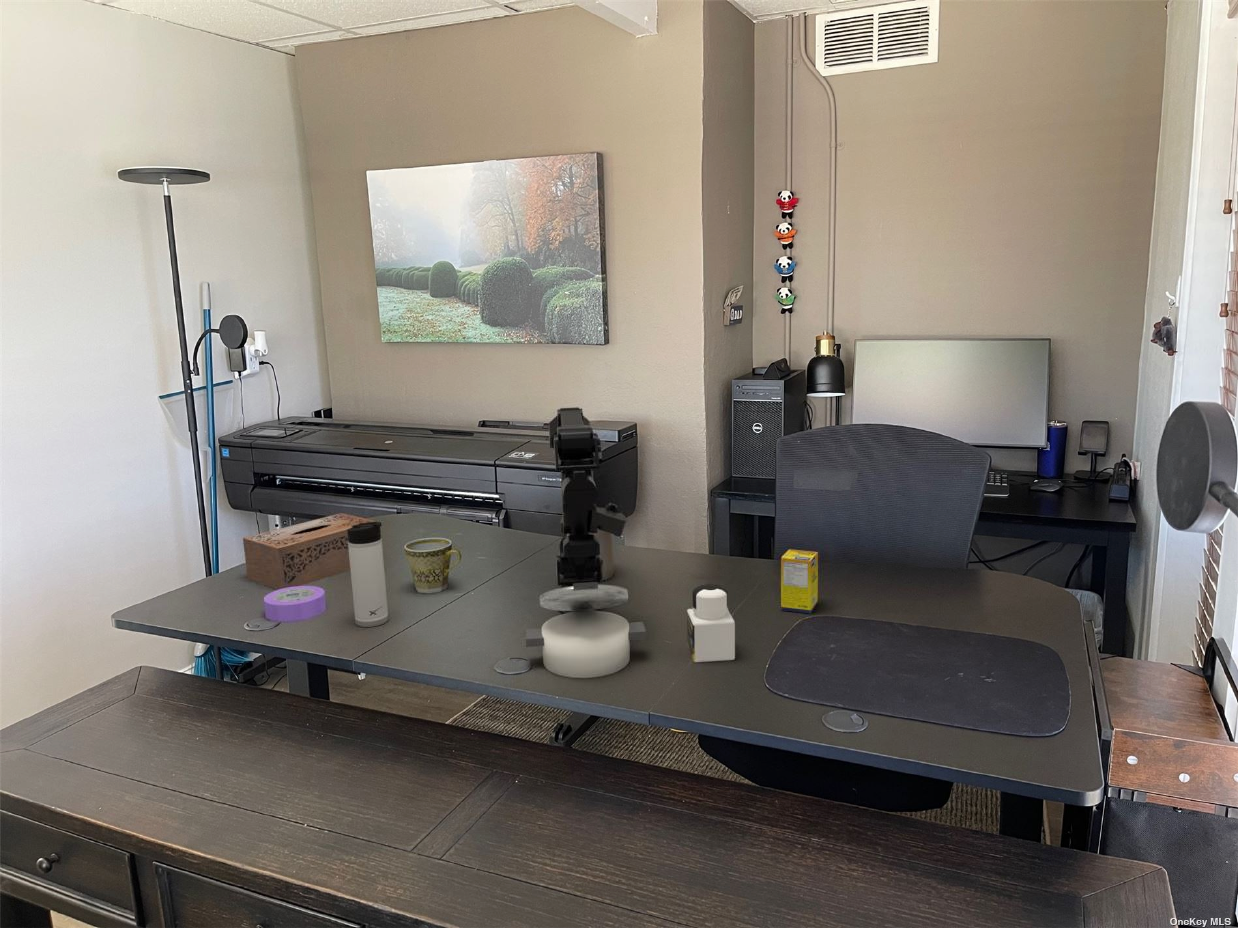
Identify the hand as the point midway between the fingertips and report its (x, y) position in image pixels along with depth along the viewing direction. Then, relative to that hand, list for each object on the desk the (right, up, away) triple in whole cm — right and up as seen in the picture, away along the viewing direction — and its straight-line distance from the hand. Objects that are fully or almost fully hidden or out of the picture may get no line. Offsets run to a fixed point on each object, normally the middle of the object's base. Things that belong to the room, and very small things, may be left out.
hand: (580, 579), depth 163 cm
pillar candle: (+1, -4, +35) cm, 35 cm away
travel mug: (-41, -10, +12) cm, 44 cm away
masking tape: (-59, -9, +19) cm, 63 cm away
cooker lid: (+1, -2, -10) cm, 11 cm away
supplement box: (+42, -7, +12) cm, 45 cm away
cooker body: (+1, -13, -9) cm, 15 cm away
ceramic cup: (-32, -6, +29) cm, 44 cm away
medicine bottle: (+23, -12, -8) cm, 27 cm away
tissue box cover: (-64, -4, +45) cm, 79 cm away
